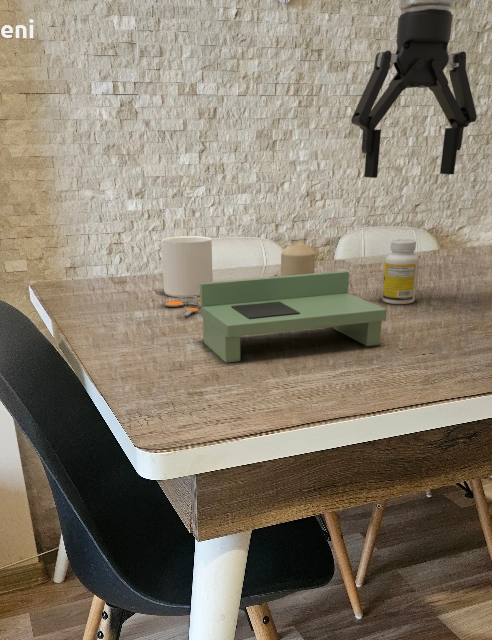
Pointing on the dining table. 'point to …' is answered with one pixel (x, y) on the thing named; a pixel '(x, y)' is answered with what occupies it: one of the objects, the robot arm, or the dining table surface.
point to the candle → (297, 259)
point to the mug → (186, 264)
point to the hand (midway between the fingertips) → (409, 175)
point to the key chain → (193, 302)
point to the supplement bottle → (401, 273)
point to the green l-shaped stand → (284, 309)
